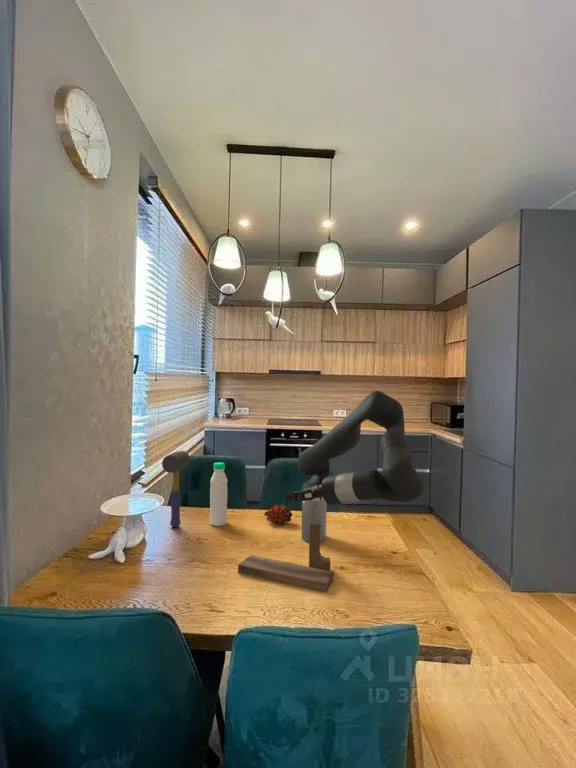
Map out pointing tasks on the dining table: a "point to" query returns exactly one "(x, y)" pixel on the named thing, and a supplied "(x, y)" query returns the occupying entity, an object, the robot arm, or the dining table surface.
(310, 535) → the wooden block
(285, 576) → the walnut plank
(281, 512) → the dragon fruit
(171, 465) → the rubber mallet
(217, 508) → the water bottle
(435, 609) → the dining table surface
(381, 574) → the dining table surface
